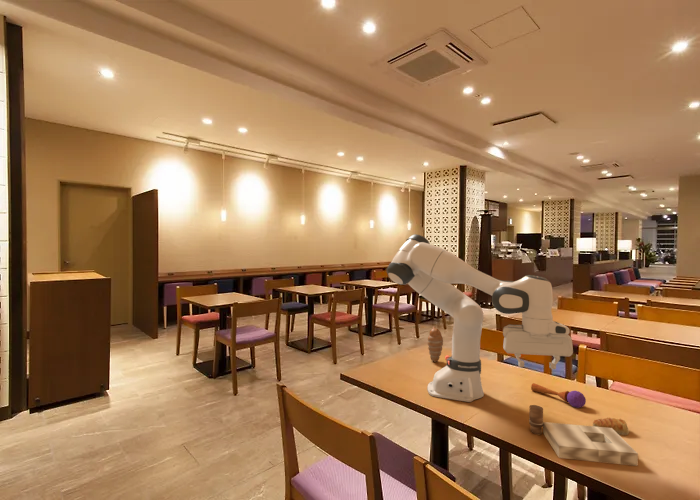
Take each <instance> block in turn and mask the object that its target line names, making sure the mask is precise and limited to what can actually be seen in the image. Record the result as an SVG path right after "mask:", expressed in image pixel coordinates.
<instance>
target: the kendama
mask: <svg viewBox="0 0 700 500" xmlns="http://www.w3.org/2000/svg"><path fill="white" fill-rule="evenodd" d="M530 389H531V391H532V392H534V393H540V394H547V395H553V396H557V397H560V399H561V400H563V401H564V402H565V403H568V404H569V405H570V406H572V407H574V408H577V409H580V408H583V407H584V406H585V405H586V403H587V401H586V400H587V399H586V397H585V395H584V394H583V393H582V392H581V391H578V390H570V391H568V390H565V391H560V392H557V391H555V390H553V389H550V388H548V387H544V386H543V385H539V384H538V383H532V384H531V385H530Z"/></svg>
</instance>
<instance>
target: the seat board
mask: <svg viewBox="0 0 700 500" xmlns="http://www.w3.org/2000/svg"><path fill="white" fill-rule="evenodd" d="M542 434H543V435H544V437H545V438H546V440H547V442H548V443H549V444H550V446H551V448H552V449H553V450H554V452H555V454H556V456H557V457H558V458H559V459H567V460H568V459H569V460H577V461H586V462H596V463H597V462H598V463H607V464H615V465H616V464H618V465H626V466H633V467H634V466H636V467H638V466H639V462H638V461H639V453H638V452H637V451H636V450H635V449H634V448H633V447H632V446H631V445H630V444H629V443H628V442H627V441H626V440H625V439H624V438H623V437H622V435H620V434H617V433H616V432H615V431H614V430H613V429H612V428H606V427H595V426H593V425H582V424H571V423H570V424H569V423H559V422H547V421H543V427H542Z"/></svg>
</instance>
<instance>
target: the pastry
mask: <svg viewBox="0 0 700 500" xmlns="http://www.w3.org/2000/svg"><path fill="white" fill-rule="evenodd" d="M592 426H595V427H606V428H612V429H613V430H614V431H615V432H616V433H617V434H618V435H620V436H628V435H629V433H630V430H629V427H628V424H627V421H626V420H624V419H622V418H619V419H618V418H614V417H606V418H598V419H594V421H593V422H592Z"/></svg>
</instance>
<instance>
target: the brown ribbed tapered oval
mask: <svg viewBox="0 0 700 500" xmlns="http://www.w3.org/2000/svg"><path fill="white" fill-rule="evenodd" d="M428 334H429V335H428V337H427V346H428V348H427V349H428V353H429V355H430V360H431V362H433V361H434V363H437V362H439V360H440V358H441V357H440V356H441V355H442V350H443V344H444V337H443V335H442V332H441V331H440V329H439V328H436V327H435V326H432V328H431V329H430V331H429V333H428Z"/></svg>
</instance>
